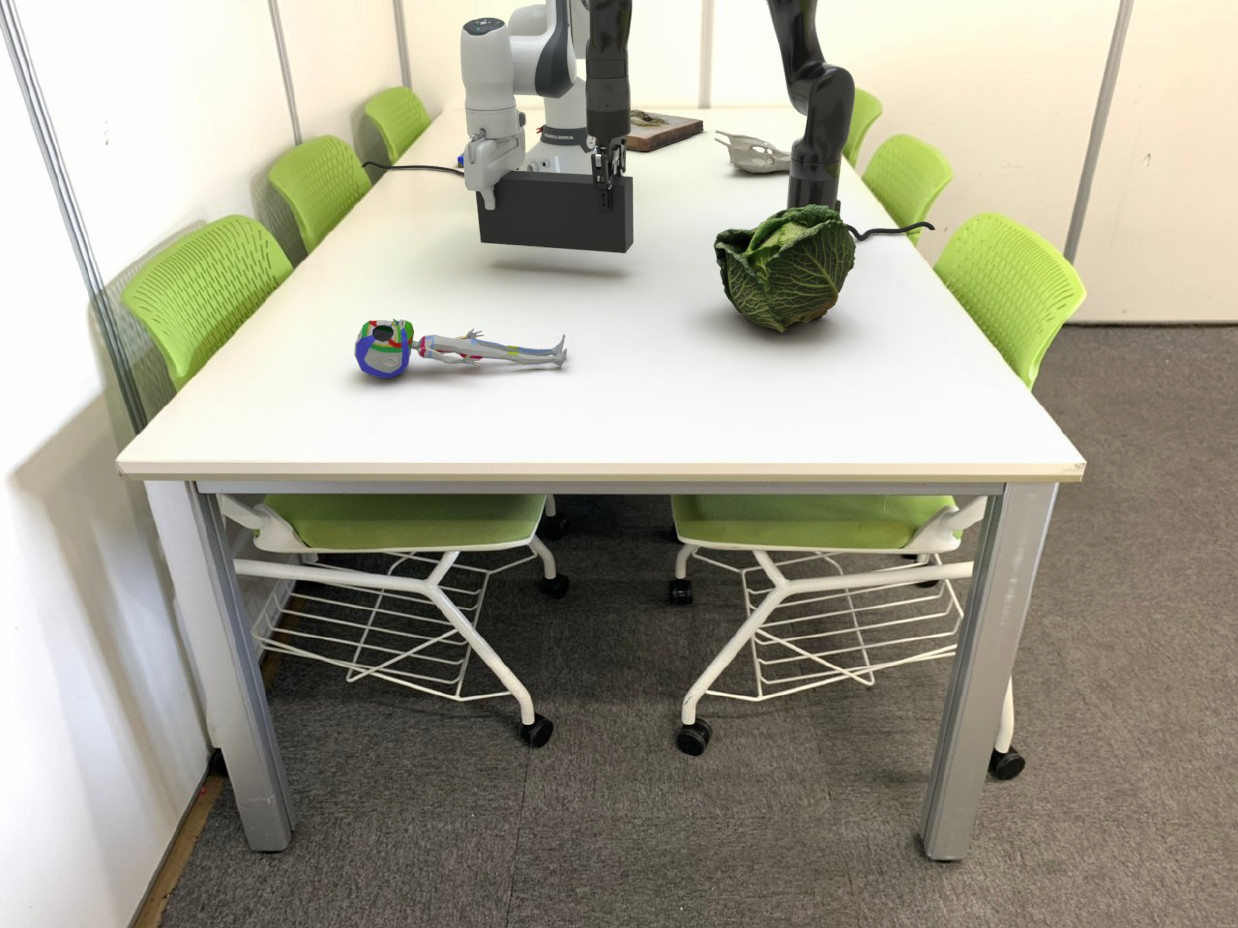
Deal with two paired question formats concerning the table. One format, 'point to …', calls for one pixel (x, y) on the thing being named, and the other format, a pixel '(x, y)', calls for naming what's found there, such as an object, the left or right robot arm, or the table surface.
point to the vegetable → (786, 265)
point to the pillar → (461, 160)
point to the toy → (435, 349)
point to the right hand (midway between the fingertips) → (610, 205)
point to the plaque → (658, 130)
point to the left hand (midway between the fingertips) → (499, 203)
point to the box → (557, 212)
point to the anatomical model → (754, 154)
